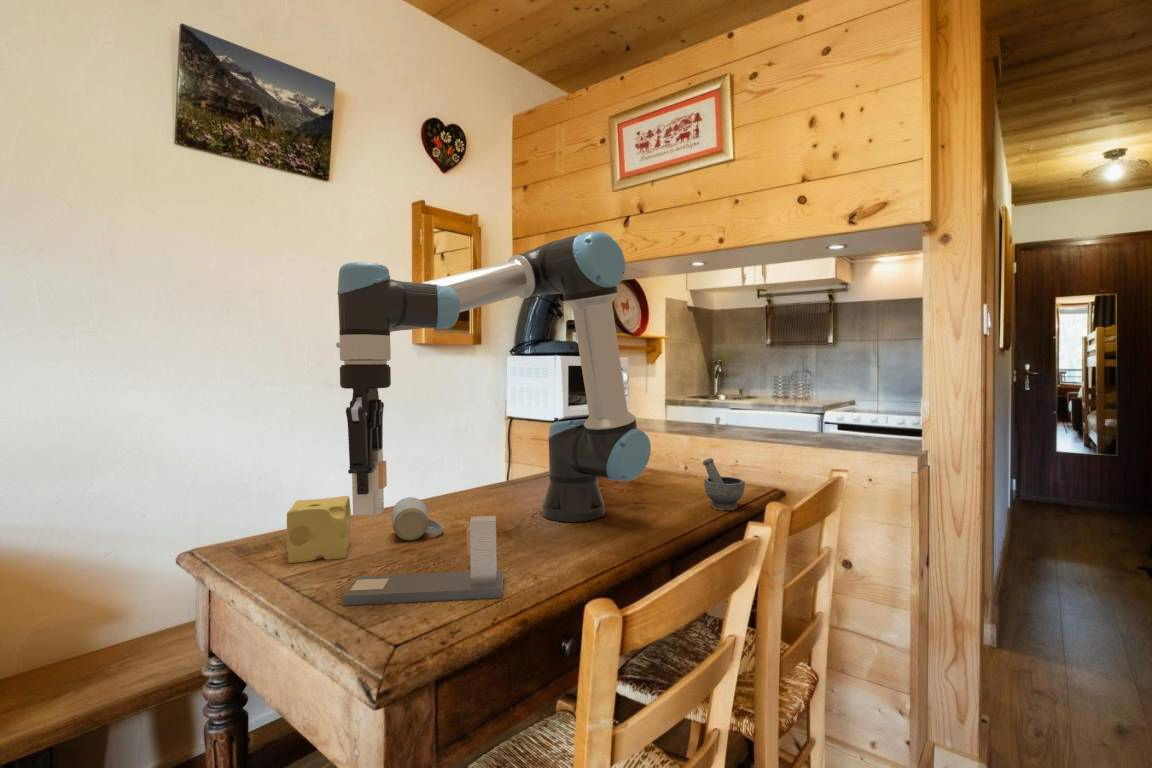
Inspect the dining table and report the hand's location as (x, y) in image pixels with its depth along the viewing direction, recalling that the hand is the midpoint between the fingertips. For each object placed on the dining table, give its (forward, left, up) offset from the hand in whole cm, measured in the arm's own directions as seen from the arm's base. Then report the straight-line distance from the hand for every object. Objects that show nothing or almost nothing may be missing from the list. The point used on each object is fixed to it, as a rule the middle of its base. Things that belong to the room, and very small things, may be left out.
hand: (367, 510), depth 90 cm
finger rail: (-9, 0, -13) cm, 16 cm away
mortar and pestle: (-75, -46, -14) cm, 89 cm away
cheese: (+15, -22, -14) cm, 30 cm away
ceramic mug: (-2, -31, -14) cm, 34 cm away
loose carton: (0, 0, 0) cm, 0 cm away
